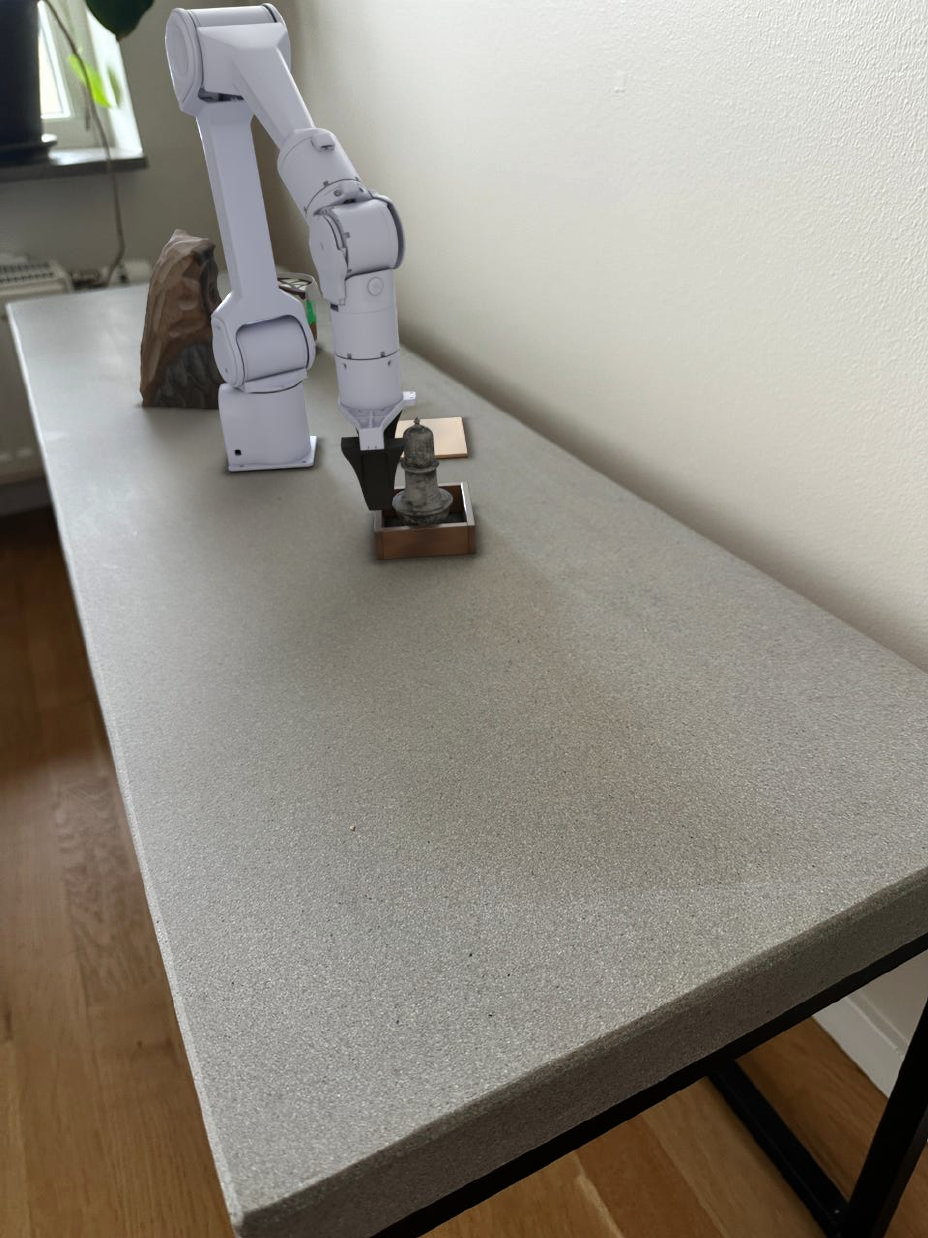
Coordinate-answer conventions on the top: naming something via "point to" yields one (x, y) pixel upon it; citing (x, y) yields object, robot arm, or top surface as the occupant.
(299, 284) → the food container
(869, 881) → the top surface
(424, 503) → the salt shaker
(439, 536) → the holder
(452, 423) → the coaster
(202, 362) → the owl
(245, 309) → the robot arm
